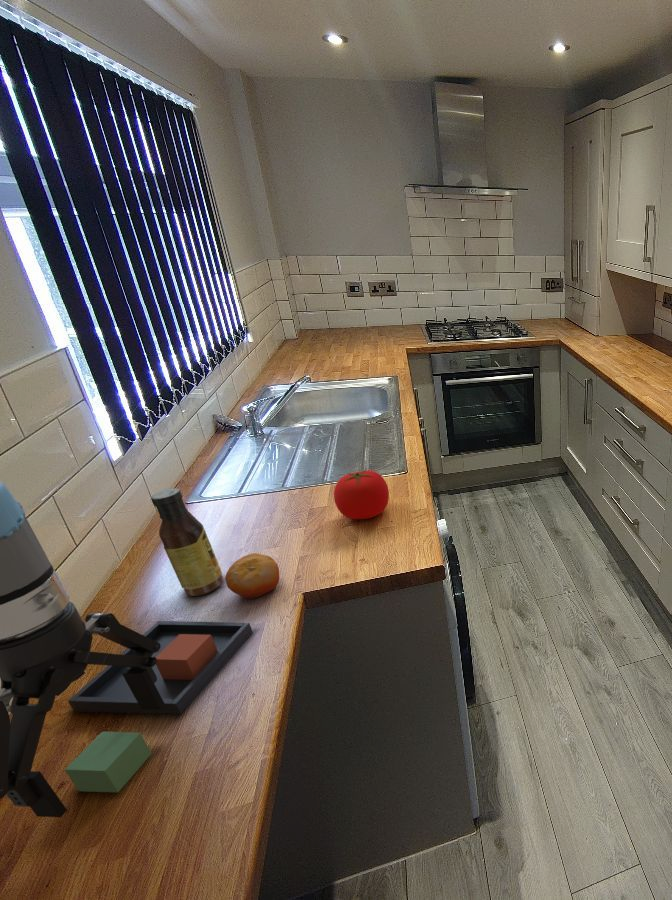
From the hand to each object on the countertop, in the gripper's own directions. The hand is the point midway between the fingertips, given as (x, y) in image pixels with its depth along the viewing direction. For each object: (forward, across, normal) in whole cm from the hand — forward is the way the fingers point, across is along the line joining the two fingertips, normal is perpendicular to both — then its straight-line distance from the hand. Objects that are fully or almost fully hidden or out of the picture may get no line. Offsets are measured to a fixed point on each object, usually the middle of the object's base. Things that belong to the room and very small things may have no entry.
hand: (108, 755), depth 64 cm
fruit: (+3, +34, +4) cm, 35 cm away
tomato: (+3, +61, -4) cm, 61 cm away
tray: (+3, +16, +6) cm, 18 cm away
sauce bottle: (+3, +35, +15) cm, 38 cm away
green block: (+3, 0, 0) cm, 3 cm away
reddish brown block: (+2, +16, +3) cm, 17 cm away
